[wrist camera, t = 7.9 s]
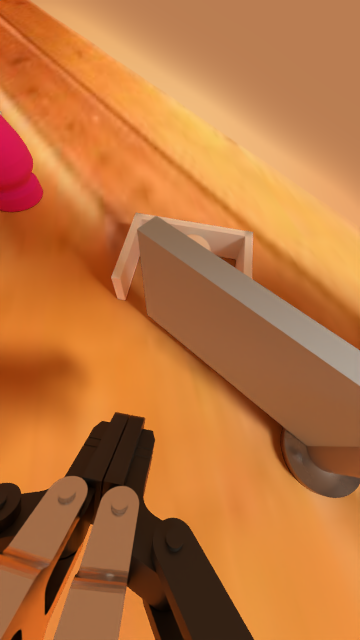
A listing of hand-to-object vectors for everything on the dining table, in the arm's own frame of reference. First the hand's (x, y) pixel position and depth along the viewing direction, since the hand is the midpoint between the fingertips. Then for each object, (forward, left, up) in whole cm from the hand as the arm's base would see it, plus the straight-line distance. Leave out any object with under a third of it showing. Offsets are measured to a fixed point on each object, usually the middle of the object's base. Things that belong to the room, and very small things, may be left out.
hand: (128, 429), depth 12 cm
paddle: (-7, -6, -6) cm, 11 cm away
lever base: (-14, -1, -7) cm, 16 cm away
